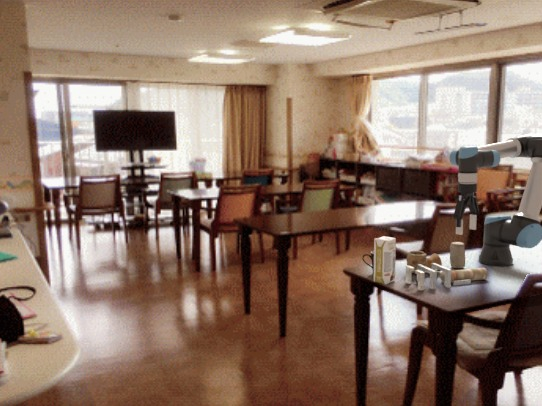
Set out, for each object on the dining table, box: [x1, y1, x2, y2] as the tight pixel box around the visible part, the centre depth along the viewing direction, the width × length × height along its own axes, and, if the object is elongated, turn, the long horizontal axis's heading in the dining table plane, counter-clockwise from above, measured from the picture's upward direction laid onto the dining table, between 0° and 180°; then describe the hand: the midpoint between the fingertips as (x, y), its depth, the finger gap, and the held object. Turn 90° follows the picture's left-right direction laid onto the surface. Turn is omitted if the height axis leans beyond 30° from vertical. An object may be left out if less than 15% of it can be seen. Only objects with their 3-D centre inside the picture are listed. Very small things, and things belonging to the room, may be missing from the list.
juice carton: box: [373, 235, 397, 285], centre depth 210 cm, size 8×9×19 cm
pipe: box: [405, 250, 443, 275], centre depth 222 cm, size 9×16×10 cm, turn 108°
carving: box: [449, 241, 466, 269], centre depth 230 cm, size 6×8×12 cm
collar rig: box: [404, 263, 472, 291], centre depth 206 cm, size 25×12×7 cm, turn 106°
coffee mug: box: [362, 250, 374, 275], centre depth 223 cm, size 12×9×10 cm
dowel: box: [440, 267, 489, 284], centre depth 210 cm, size 20×5×5 cm, turn 106°
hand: (466, 231), depth 212 cm, fingers open, 13 cm apart
